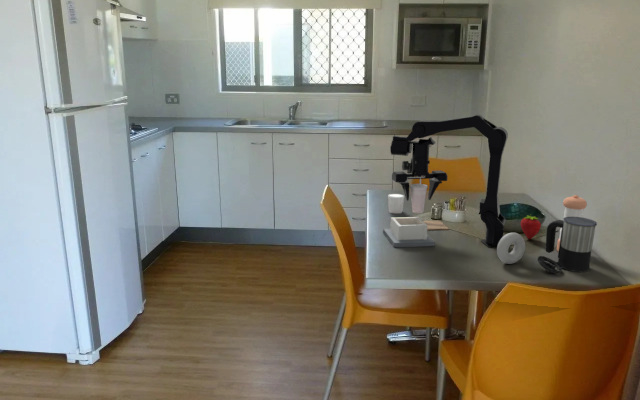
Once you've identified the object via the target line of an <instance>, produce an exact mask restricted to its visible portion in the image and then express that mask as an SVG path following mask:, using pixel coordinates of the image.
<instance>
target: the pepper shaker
mask: <svg viewBox="0 0 640 400" xmlns="http://www.w3.org/2000/svg"><path fill="white" fill-rule="evenodd" d="M562 205H563V207H564V213H563V214H564V215H563V219H564V218H565V217H582V218H583V214H584V209H586V208H587V206H588V203H587V200H586V199H585V198H583V197H580V196H579V195H577V194H574V195H572V196H568V197H565V198H564V199H563V202H562ZM563 219H562V220H563ZM563 221H564V220H563ZM561 232H562V228H560V230H559V237H558V239H557V244H556V251H557V252H559V246H560V239H561Z"/></svg>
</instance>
